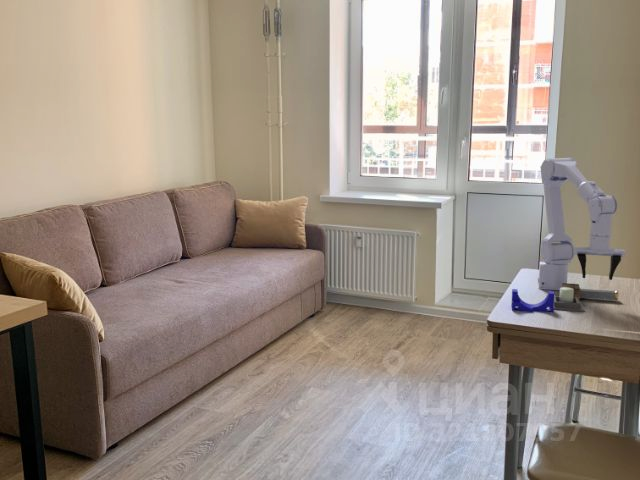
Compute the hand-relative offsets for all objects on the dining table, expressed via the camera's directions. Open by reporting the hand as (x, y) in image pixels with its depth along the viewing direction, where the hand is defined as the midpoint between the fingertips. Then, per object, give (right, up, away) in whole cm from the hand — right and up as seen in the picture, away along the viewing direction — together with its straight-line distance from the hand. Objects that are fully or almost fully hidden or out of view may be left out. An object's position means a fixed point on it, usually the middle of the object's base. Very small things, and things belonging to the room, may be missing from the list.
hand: (597, 278), depth 208 cm
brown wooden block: (-5, -7, +9) cm, 12 cm away
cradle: (-10, -9, 0) cm, 13 cm away
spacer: (-10, -8, 0) cm, 13 cm away
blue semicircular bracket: (-22, -10, -4) cm, 24 cm away
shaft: (+2, -7, +7) cm, 10 cm away
